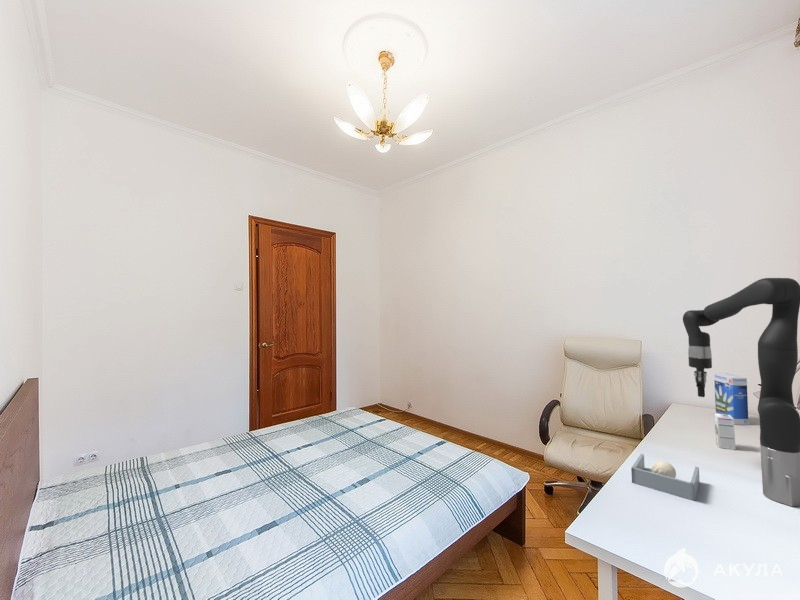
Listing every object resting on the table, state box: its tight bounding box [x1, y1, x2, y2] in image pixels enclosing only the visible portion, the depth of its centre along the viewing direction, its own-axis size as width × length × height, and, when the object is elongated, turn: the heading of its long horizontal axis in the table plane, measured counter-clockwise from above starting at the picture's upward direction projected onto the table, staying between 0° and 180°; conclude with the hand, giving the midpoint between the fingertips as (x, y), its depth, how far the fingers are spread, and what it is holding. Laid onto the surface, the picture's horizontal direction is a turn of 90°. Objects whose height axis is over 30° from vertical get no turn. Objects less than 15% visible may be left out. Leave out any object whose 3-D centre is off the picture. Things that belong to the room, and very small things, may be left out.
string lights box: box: [713, 372, 749, 426], centre depth 191 cm, size 13×8×26 cm, turn 172°
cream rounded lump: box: [651, 460, 677, 479], centre depth 129 cm, size 7×7×7 cm
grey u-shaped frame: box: [631, 453, 701, 502], centre depth 127 cm, size 17×18×6 cm
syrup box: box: [713, 413, 736, 451], centre depth 157 cm, size 6×6×14 cm
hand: (701, 396), depth 145 cm, fingers closed
